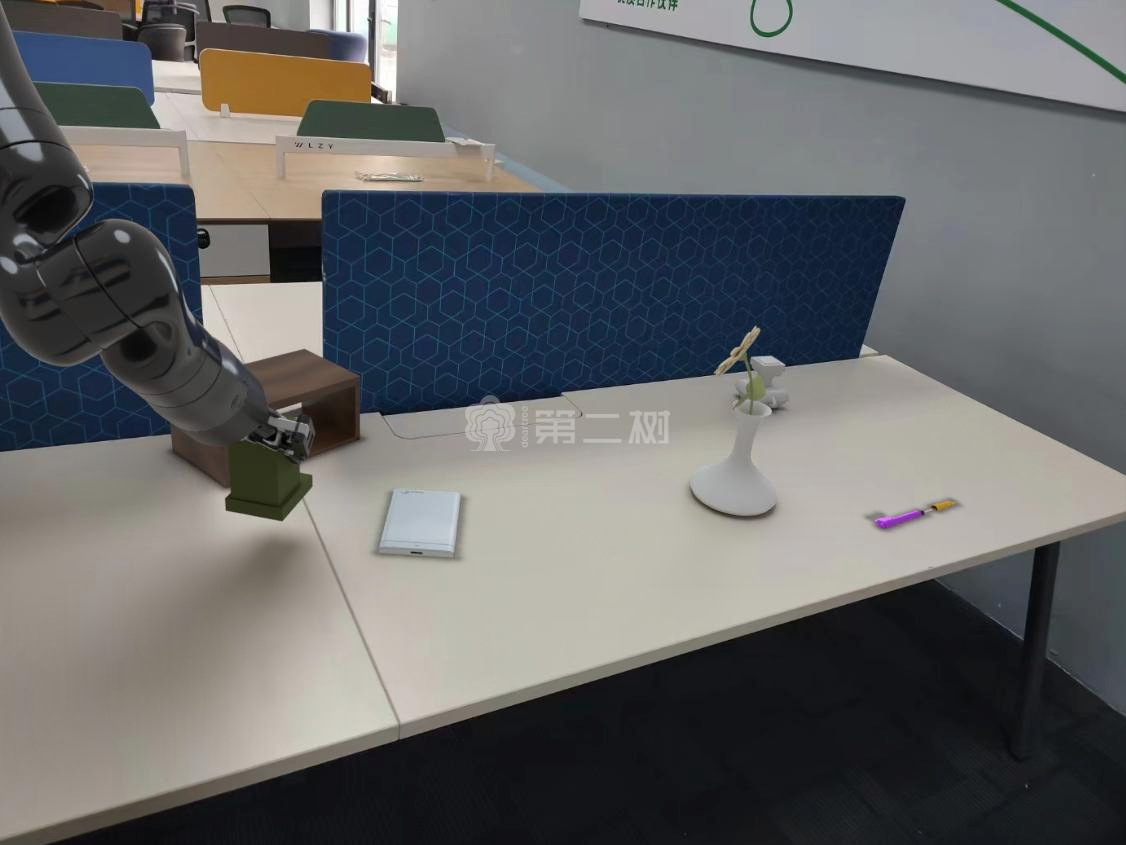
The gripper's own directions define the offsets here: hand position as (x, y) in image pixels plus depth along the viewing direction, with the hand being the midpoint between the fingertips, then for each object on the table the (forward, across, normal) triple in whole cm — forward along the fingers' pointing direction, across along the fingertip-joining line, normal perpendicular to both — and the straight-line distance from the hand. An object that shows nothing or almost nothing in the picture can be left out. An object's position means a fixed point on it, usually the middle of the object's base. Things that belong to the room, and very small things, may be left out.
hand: (273, 450), depth 86 cm
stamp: (+53, -56, -35) cm, 84 cm away
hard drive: (+15, -13, +2) cm, 21 cm away
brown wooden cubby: (+24, +11, -6) cm, 27 cm away
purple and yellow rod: (+32, -75, -14) cm, 82 cm away
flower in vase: (+28, -49, -11) cm, 58 cm away
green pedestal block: (+2, 0, +5) cm, 6 cm away
